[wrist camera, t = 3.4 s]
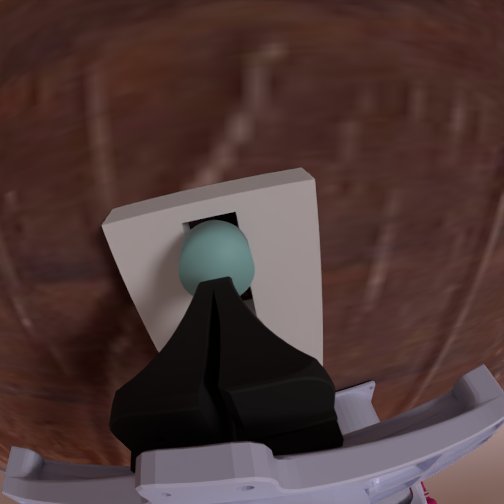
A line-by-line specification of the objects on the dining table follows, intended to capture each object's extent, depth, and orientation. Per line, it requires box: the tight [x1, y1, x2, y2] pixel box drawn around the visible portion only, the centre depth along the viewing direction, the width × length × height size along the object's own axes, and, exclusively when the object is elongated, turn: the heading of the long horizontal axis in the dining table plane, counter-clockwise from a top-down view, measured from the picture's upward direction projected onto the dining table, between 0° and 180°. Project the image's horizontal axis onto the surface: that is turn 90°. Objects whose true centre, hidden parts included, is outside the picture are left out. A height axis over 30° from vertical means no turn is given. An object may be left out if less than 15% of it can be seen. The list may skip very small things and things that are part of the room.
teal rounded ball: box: [178, 219, 255, 296], centre depth 16 cm, size 4×4×4 cm
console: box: [101, 168, 323, 366], centre depth 22 cm, size 21×12×2 cm, turn 9°
